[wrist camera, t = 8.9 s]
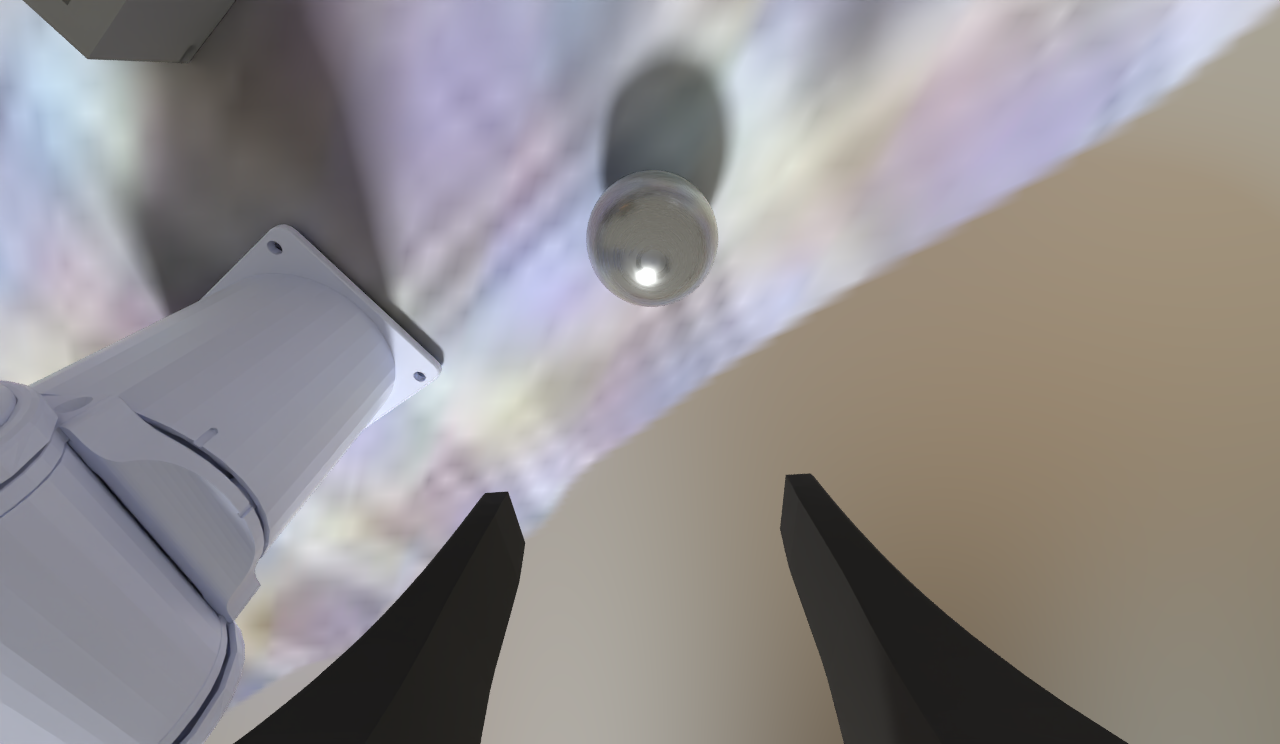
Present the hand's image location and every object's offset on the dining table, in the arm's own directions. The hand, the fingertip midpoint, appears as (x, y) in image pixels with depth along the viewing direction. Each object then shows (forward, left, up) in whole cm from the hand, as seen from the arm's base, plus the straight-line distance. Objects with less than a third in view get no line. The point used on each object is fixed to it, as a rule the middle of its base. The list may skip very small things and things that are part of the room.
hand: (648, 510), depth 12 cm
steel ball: (+3, +4, -7) cm, 9 cm away
